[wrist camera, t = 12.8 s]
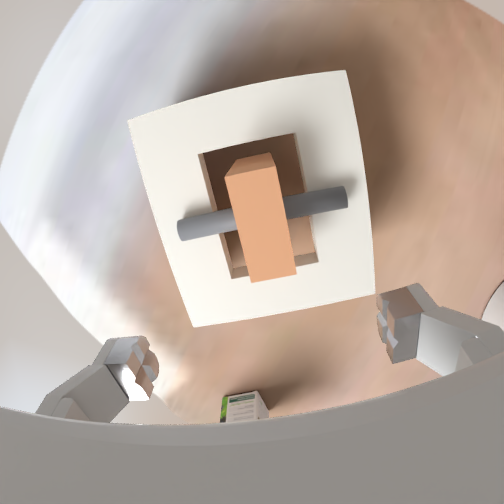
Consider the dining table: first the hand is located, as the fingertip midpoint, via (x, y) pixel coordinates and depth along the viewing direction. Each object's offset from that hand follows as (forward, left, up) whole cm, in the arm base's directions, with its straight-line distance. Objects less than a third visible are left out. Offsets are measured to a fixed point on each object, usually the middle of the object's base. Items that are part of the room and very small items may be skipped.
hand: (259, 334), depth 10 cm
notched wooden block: (0, 0, -19) cm, 19 cm away
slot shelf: (0, 0, -24) cm, 24 cm away
